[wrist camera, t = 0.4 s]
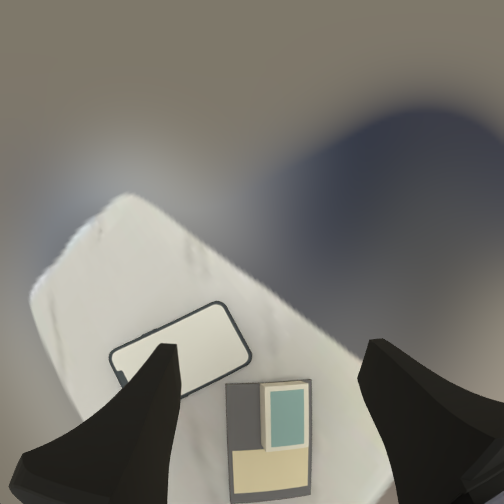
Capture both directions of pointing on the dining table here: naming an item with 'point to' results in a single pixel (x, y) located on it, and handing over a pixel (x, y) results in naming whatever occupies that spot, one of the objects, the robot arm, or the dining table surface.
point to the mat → (262, 452)
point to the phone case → (190, 348)
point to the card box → (284, 415)
